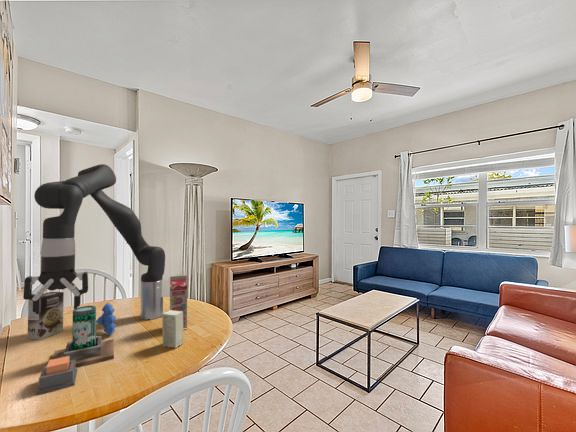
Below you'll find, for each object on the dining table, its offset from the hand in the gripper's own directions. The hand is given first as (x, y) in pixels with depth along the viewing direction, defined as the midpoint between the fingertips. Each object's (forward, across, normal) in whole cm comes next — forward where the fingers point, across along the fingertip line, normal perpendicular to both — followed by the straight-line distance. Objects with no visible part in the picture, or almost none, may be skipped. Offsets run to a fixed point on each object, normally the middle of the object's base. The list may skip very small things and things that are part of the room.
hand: (57, 310), depth 79 cm
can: (+19, -6, -14) cm, 24 cm away
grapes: (+20, -11, -31) cm, 39 cm away
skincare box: (+20, -32, -7) cm, 39 cm away
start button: (+18, -1, 0) cm, 18 cm away
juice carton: (+20, -37, -23) cm, 48 cm away
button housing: (+21, -1, 0) cm, 21 cm away
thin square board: (+20, -5, -14) cm, 25 cm away
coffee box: (+21, +9, -43) cm, 48 cm away
